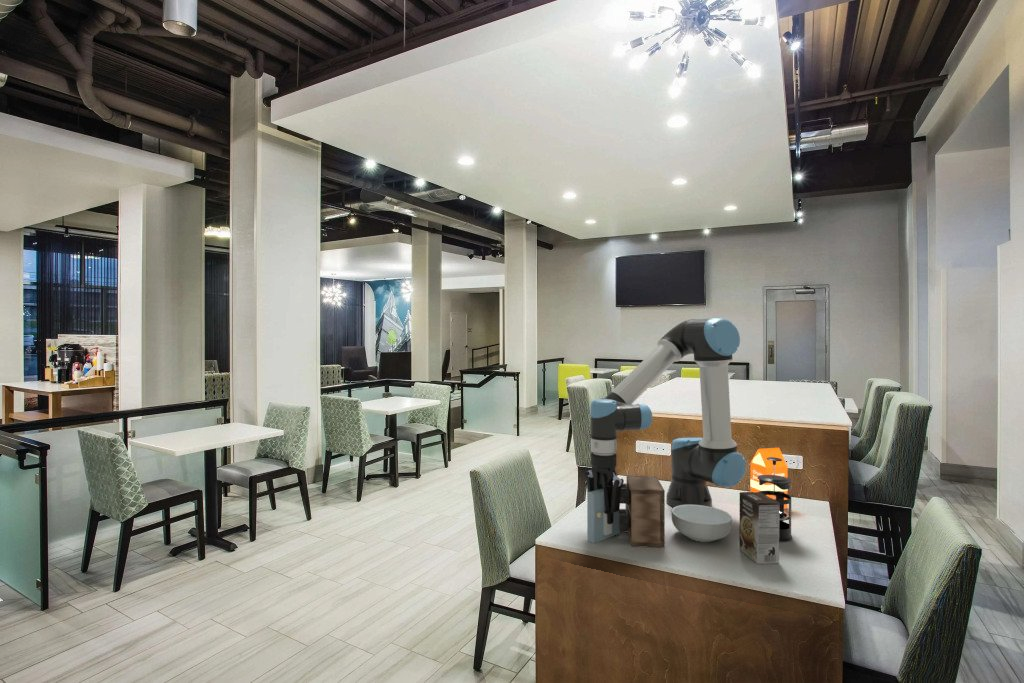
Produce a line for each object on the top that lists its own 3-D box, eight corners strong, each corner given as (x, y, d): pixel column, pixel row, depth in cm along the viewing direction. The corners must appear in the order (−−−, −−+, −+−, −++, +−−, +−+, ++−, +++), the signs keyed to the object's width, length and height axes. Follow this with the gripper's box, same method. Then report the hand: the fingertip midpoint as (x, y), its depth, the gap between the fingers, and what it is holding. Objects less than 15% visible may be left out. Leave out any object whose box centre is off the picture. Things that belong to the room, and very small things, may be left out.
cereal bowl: (733, 552, 140) (733, 527, 140) (669, 544, 146) (669, 519, 146) (730, 530, 156) (730, 507, 156) (673, 523, 162) (673, 501, 162)
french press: (785, 545, 145) (786, 464, 144) (750, 536, 151) (751, 458, 151) (797, 533, 153) (798, 456, 153) (764, 525, 160) (764, 451, 159)
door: (612, 531, 155) (612, 485, 155) (622, 535, 152) (622, 488, 152) (587, 540, 148) (587, 492, 148) (596, 544, 146) (596, 495, 145)
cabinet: (655, 526, 160) (655, 474, 159) (664, 547, 143) (664, 490, 143) (617, 524, 161) (617, 473, 161) (622, 545, 145) (622, 489, 145)
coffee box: (738, 549, 142) (738, 491, 142) (760, 549, 142) (760, 491, 142) (756, 564, 133) (756, 502, 133) (780, 563, 133) (780, 501, 133)
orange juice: (787, 508, 175) (788, 449, 175) (765, 510, 173) (766, 451, 173) (771, 501, 183) (771, 445, 183) (749, 503, 181) (750, 446, 181)
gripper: (575, 449, 154) (575, 527, 155) (615, 459, 142) (615, 544, 142) (592, 446, 159) (592, 521, 159) (633, 455, 147) (633, 537, 147)
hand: (603, 532), depth 151 cm, fingers open, 3 cm apart
